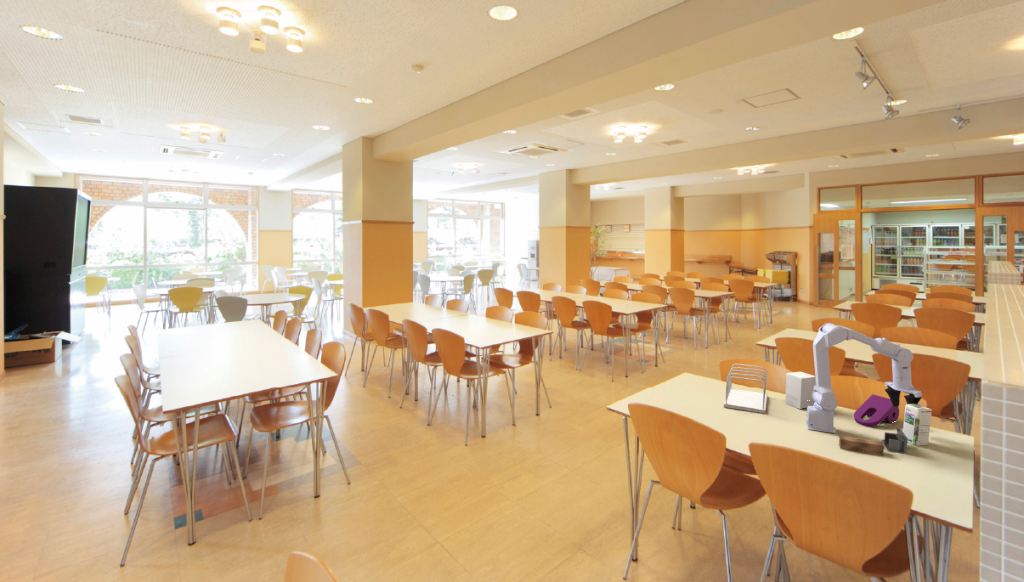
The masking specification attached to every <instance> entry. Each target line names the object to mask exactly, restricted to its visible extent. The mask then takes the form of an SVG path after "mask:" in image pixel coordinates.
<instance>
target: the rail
mask: <svg viewBox="0 0 1024 582" xmlns="http://www.w3.org/2000/svg"><path fill="white" fill-rule="evenodd" d="M838 437H839V438H838V439H839V440H838V446H839V449H840V450H846V451H851V452H852V451H853V452H857V453H858V452H859V453H866V454H872V455H876V456H877V455H878V456H884V447H885V445H884V444H883V442H882V441H878V440H877V441H876V440H870V439H865V438H864V439H863V438H859V437H858V438H857V437H851V436H850V437H849V436H843V435H839V436H838Z"/></svg>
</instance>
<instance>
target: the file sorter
mask: <svg viewBox="0 0 1024 582" xmlns="http://www.w3.org/2000/svg"><path fill="white" fill-rule="evenodd" d="M736 366H737V367H736ZM738 366H745V367H746V368H745V367H738ZM747 367H752V368H747ZM757 368H761V369H757ZM762 369H763V370H762ZM755 371H756V372H755ZM757 371H758V372H757ZM733 372H734V373H733ZM736 372H738V373H736ZM744 373H747V374H744ZM767 373H768V372H767V369H766V368H765V367H763V366H760V365H754V364H753V365H752V364H742V363H734V364H732V365H731V368H730V369H729V372H728V375H727V377H726V385H725V386H726V387H725V398H724V402H723V407H724V408H729V409H736V410H740V411H747V412H753V413H758V412H759V414H760V413H761V414H766V411H767V410H766V409H767V400H768V393H766V392H767V391H766V389H767V375H768V374H767ZM733 375H734V376H733ZM739 376H741V377H739ZM742 376H744V377H742ZM745 376H746V377H754V378H756V377H757V378H759V379H754V378H746V377H745ZM733 379H740V380H747V381H753V382H754V381H755V382H760V383H762V384H763V386H762V388H763V392H756V391H750V390H743V389H735V388H733V387H732V386H733V385H732V384H733Z"/></svg>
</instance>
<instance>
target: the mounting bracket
mask: <svg viewBox="0 0 1024 582" xmlns="http://www.w3.org/2000/svg"><path fill="white" fill-rule="evenodd" d="M899 407H900V406H895V407H894V406H893V405H892V402H891V400H890V398H889V397H883V396H881V395H877V394H873V393H872V394H871V395H870V396H869V397H868V398H867V399H866V400H865V401H864V402H863V403H862V404H861V405H860V406H859V407H858V408H857V409H856V410H855V411H854V413H853V417H854V421H855V423H856V424H858V425H860V426H863V427H868V428H869V427H870V428H871V427H876V426H879V425H880V424H881V423H882V422H886V423H889V424H893V423H892V422H894V421H896V420H898V419H899V415H900V408H899ZM866 416H867V417H869V418H868V419H864V418H866ZM896 422H897V421H896ZM894 423H895V422H894Z"/></svg>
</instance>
